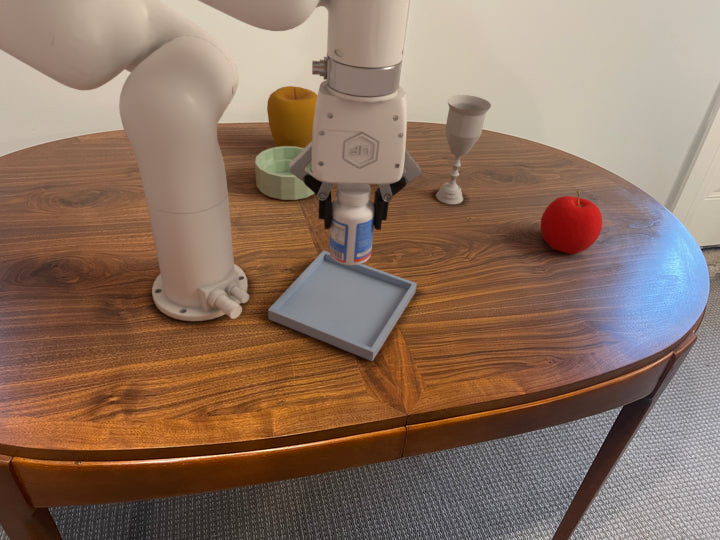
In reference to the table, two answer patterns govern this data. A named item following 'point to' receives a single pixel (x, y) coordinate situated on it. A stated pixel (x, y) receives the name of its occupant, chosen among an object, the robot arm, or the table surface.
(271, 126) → the apple
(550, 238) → the fruit
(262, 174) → the bowl
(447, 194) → the chalice
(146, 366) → the table surface
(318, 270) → the tray
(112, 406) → the table surface
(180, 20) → the robot arm
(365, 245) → the pill bottle
